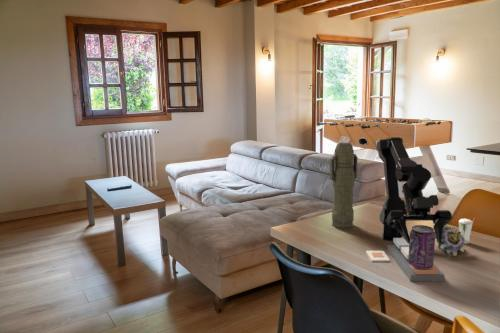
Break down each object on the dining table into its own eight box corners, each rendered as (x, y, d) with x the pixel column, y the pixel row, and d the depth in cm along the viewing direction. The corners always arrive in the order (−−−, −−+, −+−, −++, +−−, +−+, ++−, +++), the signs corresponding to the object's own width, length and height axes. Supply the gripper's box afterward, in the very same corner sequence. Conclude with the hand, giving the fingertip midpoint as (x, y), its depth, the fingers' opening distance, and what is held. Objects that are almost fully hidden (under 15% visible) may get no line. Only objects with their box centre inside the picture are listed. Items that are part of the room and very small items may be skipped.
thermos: (324, 224, 176) (325, 143, 170) (347, 220, 181) (349, 141, 174) (337, 230, 168) (339, 145, 162) (360, 226, 173) (362, 143, 167)
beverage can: (406, 260, 131) (409, 223, 128) (431, 262, 129) (433, 225, 127) (409, 269, 124) (411, 231, 122) (434, 271, 122) (437, 233, 120)
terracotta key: (409, 265, 130) (409, 261, 130) (429, 265, 130) (430, 261, 130) (416, 274, 124) (416, 270, 123) (438, 274, 123) (438, 270, 123)
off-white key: (400, 251, 138) (400, 247, 138) (420, 251, 138) (420, 247, 138) (407, 259, 132) (407, 254, 132) (427, 259, 132) (428, 254, 131)
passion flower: (452, 270, 143) (443, 249, 137) (429, 253, 152) (420, 233, 146) (476, 250, 144) (468, 228, 138) (452, 234, 153) (444, 213, 147)
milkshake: (474, 245, 150) (477, 219, 148) (459, 244, 151) (461, 218, 150) (471, 240, 155) (473, 215, 153) (455, 240, 156) (457, 214, 154)
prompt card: (366, 252, 146) (366, 250, 146) (383, 252, 146) (383, 250, 146) (371, 261, 138) (371, 259, 138) (389, 261, 138) (389, 259, 138)
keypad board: (387, 250, 147) (387, 244, 147) (415, 250, 147) (416, 244, 147) (410, 281, 124) (410, 275, 124) (444, 281, 123) (444, 275, 123)
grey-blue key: (393, 241, 147) (393, 238, 146) (411, 241, 146) (411, 237, 146) (398, 248, 140) (399, 244, 140) (418, 248, 140) (418, 244, 140)
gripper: (390, 185, 128) (400, 232, 119) (452, 185, 127) (466, 231, 118) (382, 202, 137) (390, 247, 128) (440, 202, 136) (452, 247, 128)
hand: (424, 243), depth 125 cm, fingers open, 9 cm apart
